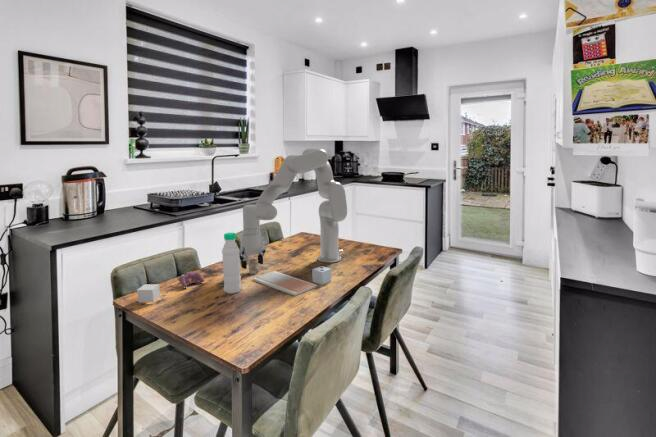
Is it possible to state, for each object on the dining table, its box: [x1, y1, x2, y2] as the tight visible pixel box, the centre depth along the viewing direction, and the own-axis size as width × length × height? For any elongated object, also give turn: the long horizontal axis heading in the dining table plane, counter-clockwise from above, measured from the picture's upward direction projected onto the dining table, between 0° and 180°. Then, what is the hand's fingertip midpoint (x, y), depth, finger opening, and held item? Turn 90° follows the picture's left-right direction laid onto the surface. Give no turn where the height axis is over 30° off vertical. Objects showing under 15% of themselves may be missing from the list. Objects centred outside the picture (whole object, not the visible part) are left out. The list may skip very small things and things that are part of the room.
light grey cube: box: [136, 283, 161, 302], centre depth 153 cm, size 6×6×6 cm
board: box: [252, 270, 318, 297], centre depth 172 cm, size 13×28×1 cm, turn 48°
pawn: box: [248, 258, 259, 275], centre depth 186 cm, size 4×4×7 cm
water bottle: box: [221, 232, 242, 294], centre depth 162 cm, size 7×7×25 cm
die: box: [311, 265, 332, 286], centre depth 174 cm, size 6×6×6 cm
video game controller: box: [178, 270, 205, 288], centre depth 171 cm, size 10×5×7 cm, turn 141°
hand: (252, 266), depth 186 cm, fingers open, 9 cm apart
